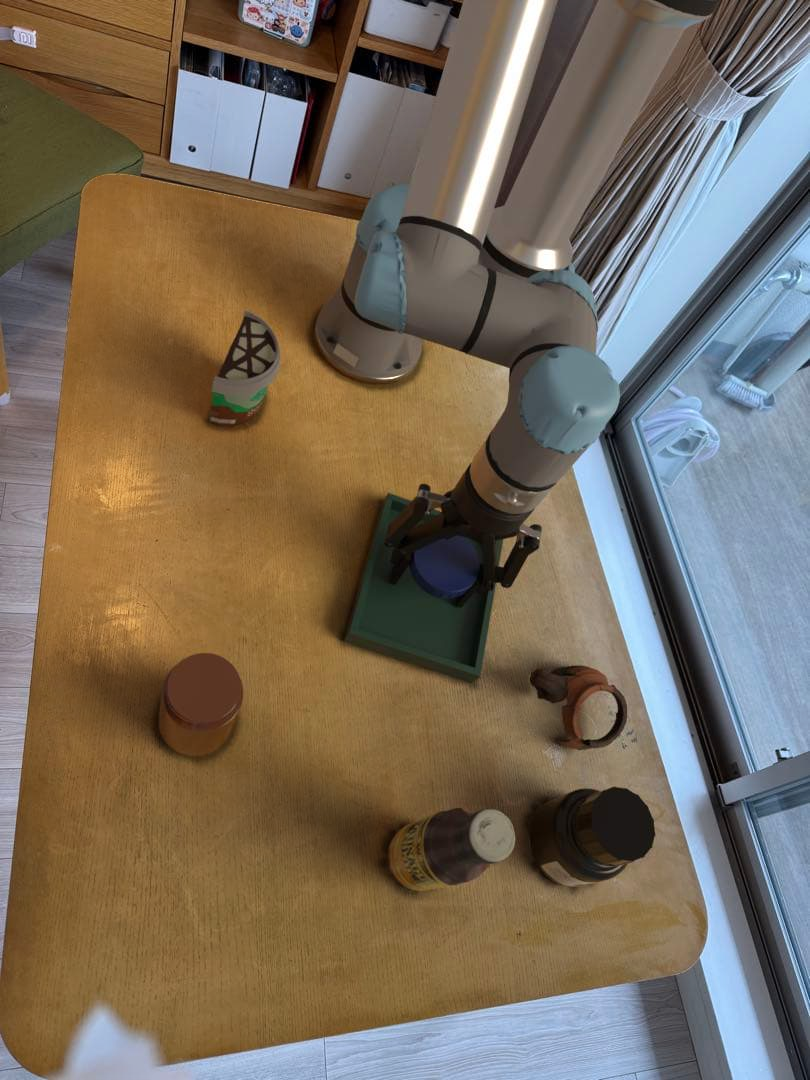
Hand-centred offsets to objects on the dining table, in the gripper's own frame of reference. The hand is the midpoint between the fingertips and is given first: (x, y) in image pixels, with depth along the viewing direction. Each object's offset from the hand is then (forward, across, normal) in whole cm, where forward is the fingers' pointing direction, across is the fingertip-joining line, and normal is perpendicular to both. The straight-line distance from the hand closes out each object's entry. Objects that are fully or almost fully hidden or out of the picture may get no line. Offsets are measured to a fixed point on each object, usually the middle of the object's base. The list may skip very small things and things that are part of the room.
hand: (427, 586), depth 92 cm
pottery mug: (+1, +19, -9) cm, 21 cm away
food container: (+1, -28, +17) cm, 33 cm away
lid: (-6, 0, 0) cm, 6 cm away
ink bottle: (+1, +21, -24) cm, 32 cm away
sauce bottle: (+1, +5, -30) cm, 30 cm away
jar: (+1, -20, -23) cm, 30 cm away
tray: (+1, 0, 0) cm, 1 cm away
